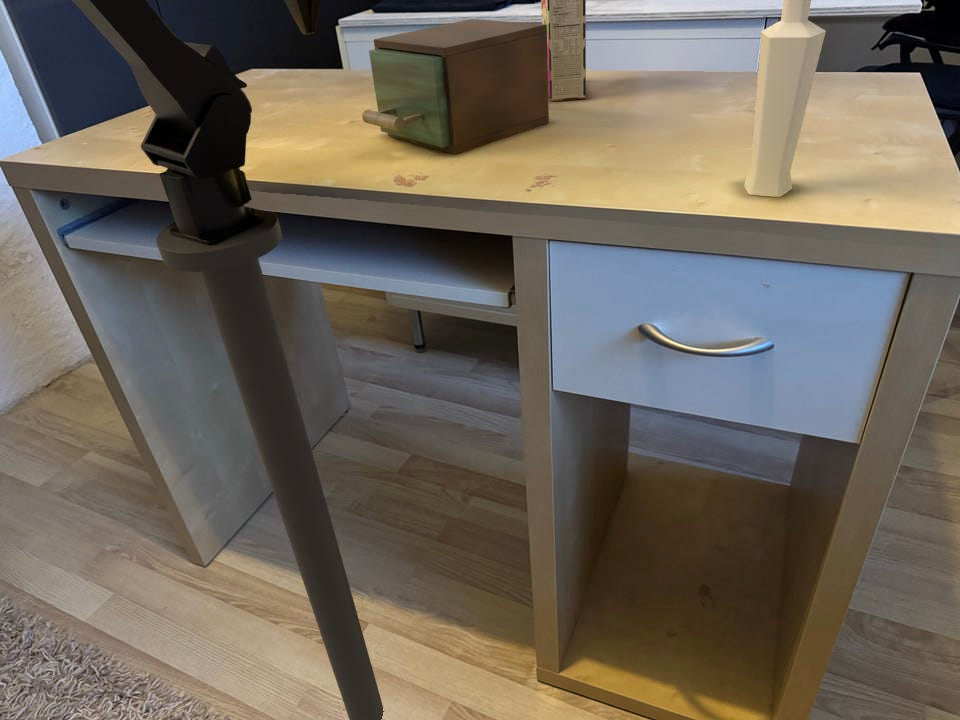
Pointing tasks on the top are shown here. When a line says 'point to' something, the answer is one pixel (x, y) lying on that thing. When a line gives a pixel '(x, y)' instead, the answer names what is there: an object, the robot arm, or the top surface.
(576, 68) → the candy bar box
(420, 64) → the drawer
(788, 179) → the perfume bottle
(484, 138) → the cabinet
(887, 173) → the top surface
